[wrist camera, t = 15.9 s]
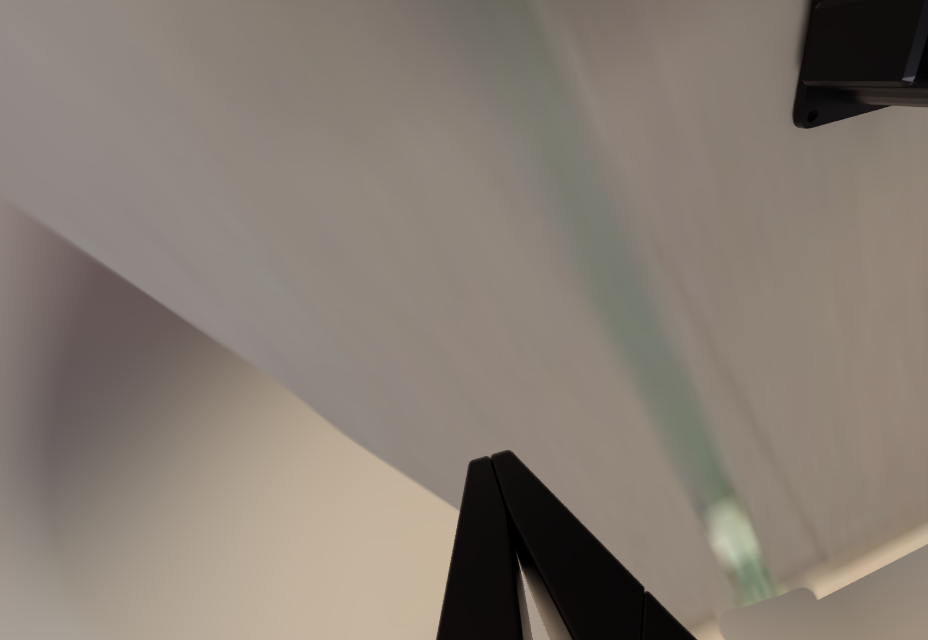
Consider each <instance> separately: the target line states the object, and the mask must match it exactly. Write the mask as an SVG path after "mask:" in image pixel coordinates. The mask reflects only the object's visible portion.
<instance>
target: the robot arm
mask: <svg viewBox="0 0 928 640" xmlns="http://www.w3.org/2000/svg"><path fill="white" fill-rule="evenodd" d="M889 106H912V107H928V0H814V1H813V7H812V13H811V18H810V24H809V30H808V36H807V42H806V48H805V54H804V60H803V66H802V72H801V77H800V83H799V89H798V95H797V101H796V107H795V113H794V124H795V126H796V127H798V128H806V129H807V128H813V127H817V126H820V125H824V124H828V123H831V122H835V121H838V120H842V119H846V118H849V117H853V116H857V115H860V114H864V113H867V112H871V111H875V110H878V109H882V108H885V107H889ZM809 112H810V115H809V117H808V118H807V115H808V113H809ZM518 560H519V561H518ZM519 563H520V566H521V569H522V572H523V575H524V577H525V580H526V582H527V585H528V587H529V590H530V592H531V595H532V597H533V599H534V602H535V604H536V607H537V609H538V612H539V614H540V617H541V619H542V621H543V624H544V626H545V629H546V631H547V634H548V636H549V638H550V640H697V639H696V638H695V637H694V636H693V635H692V634H691V633H690V632H689V631H688V630H687V629H686V628H685V627H684V626H683V625H682V624H681V623H680V622H679V621H678V620H677V619H676V618H675V617H674V616H673V615H671V614H670V613H669V612H668V611H667V610H666V609H665V607H664V606H663V605H662V604H661V603H660V602H659V601H658V600H657V599H656V598H655V597H654V596H653V595H652V594H651V593H650V592H648V591H646V592H645V588H644V586H643V585H642V584H641V583H640V582H639V581H638V580H637V579H636V578H635V577H634V576H633V575H632V574H631V573H630V572H629V571H628V570H627V569H626V568H625V567H624V566H623V565H622V564H621V563H620V562H619V561H618V560H617V559H616V558H615V557H614V556H613V555H612V554H611V553H610V551H609V550H608V549H607V548H606V547H605V546H604V545H603V544H602V543H601V542H600V541H599V540H598V539H597V538H596V537H595V536H594V535H593V534H592V533H591V532H590V531H589V530H588V529H587V528H586V527H585V526H584V525H583V524H582V523H581V522H580V521H579V520H578V519H577V518H576V517H575V516H574V515H573V514H572V513H571V512H570V511H569V509H568V508H567V507H566V506H565V505H564V504H563V503H562V502H561V501H560V500H559V499H558V498H557V497H556V496H555V495H554V494H553V493H552V492H551V491H550V490H549V489H548V488H547V487H546V486H545V485H544V484H543V483H542V482H541V481H540V480H539V479H538V478H537V477H536V476H535V475H534V474H533V473H532V472H531V471H530V470H529V469H528V468H527V466H526V465H525V464H524V463H523V462H522V461H521V460H520V459H519V458H518V457H517V456H516V455H515V454H514V453H513V452H511V451H510V450H505V451H502V452H498V453H495V454H492V456H491V459H490V457H488V456H484V457H481V458H477V459H474V460H471V461H470V463H469V465H468V470H467V476H466V481H465V487H464V492H463V497H462V503H461V508H460V513H459V519H458V525H457V530H456V535H455V540H454V546H453V551H452V557H451V563H450V567H449V573H448V579H447V583H446V589H445V594H444V600H443V605H442V610H441V616H440V621H439V627H438V632H437V638H436V640H533V639H532V633H531V627H530V621H529V615H528V609H527V603H526V597H525V591H524V585H523V580H522V575H521V570H520V566H519Z"/></svg>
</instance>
